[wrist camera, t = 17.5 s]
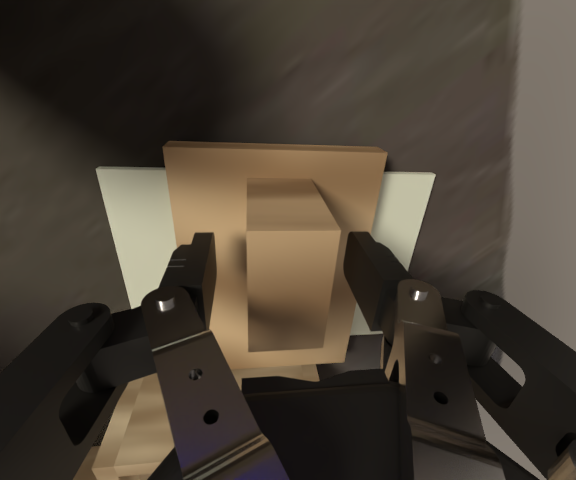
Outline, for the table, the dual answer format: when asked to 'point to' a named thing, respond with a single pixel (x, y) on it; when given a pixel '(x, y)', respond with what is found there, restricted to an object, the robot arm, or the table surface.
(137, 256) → the mat
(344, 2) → the table surface
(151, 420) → the wooden box
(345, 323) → the lid
